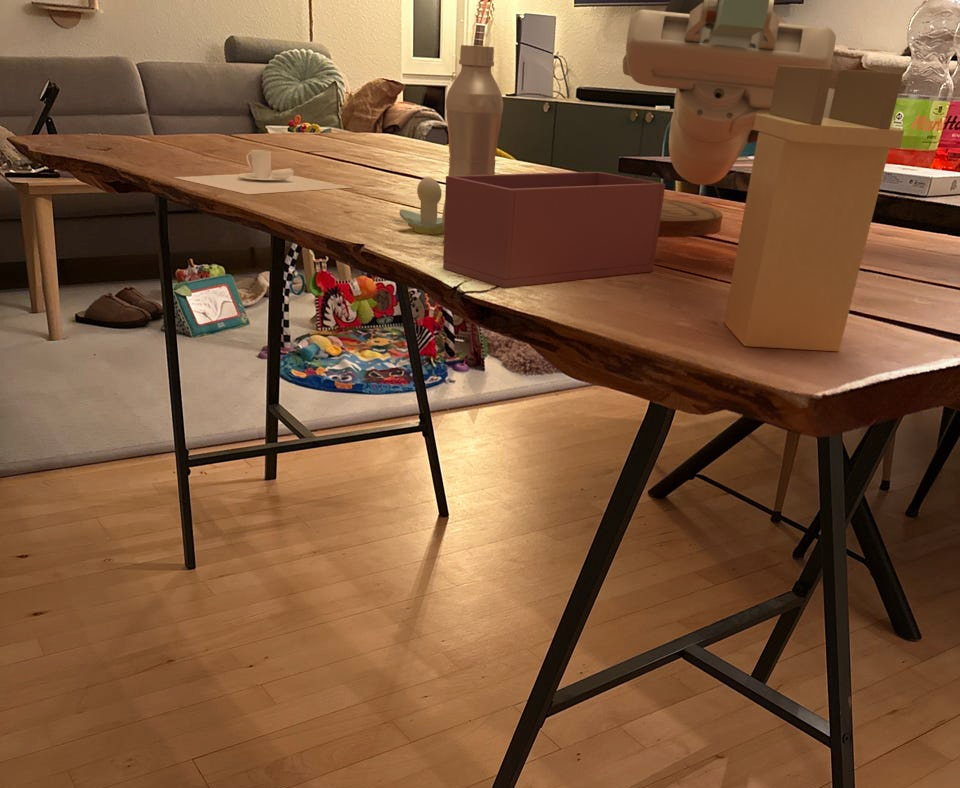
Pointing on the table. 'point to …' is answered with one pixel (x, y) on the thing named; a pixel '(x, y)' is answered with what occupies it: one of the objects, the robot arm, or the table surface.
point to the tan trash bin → (810, 206)
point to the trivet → (688, 219)
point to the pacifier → (426, 209)
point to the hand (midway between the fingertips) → (738, 3)
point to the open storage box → (550, 226)
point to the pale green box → (740, 17)
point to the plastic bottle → (473, 115)
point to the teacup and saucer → (262, 178)
